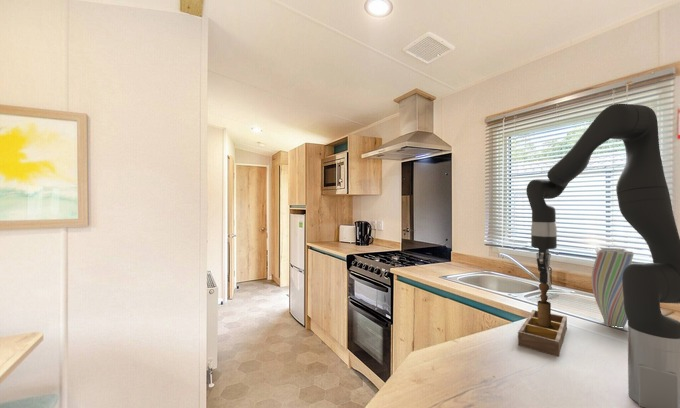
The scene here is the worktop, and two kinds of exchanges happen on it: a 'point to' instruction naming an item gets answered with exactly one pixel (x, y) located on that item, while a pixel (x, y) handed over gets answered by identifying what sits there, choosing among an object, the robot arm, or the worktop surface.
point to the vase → (610, 283)
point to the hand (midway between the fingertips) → (543, 282)
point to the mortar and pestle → (544, 309)
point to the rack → (543, 334)
